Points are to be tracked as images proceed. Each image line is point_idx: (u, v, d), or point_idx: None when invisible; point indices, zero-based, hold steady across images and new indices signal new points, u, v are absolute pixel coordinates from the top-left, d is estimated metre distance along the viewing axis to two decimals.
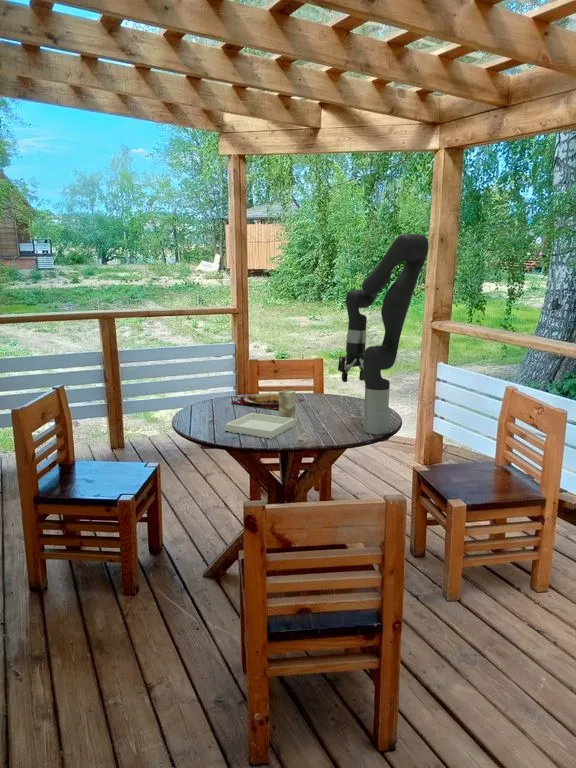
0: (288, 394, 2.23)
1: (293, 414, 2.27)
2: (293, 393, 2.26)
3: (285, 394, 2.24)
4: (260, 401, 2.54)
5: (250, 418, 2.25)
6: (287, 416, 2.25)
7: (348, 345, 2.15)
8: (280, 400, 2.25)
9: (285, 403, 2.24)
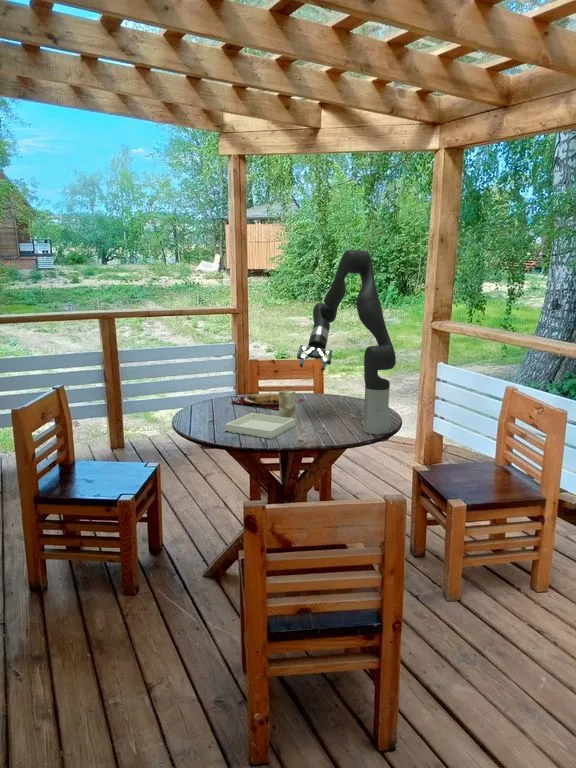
0: (288, 394, 2.23)
1: (293, 414, 2.27)
2: (293, 393, 2.26)
3: (285, 394, 2.24)
4: (260, 401, 2.54)
5: (250, 418, 2.25)
6: (287, 416, 2.25)
7: None
8: (280, 400, 2.25)
9: (285, 403, 2.24)
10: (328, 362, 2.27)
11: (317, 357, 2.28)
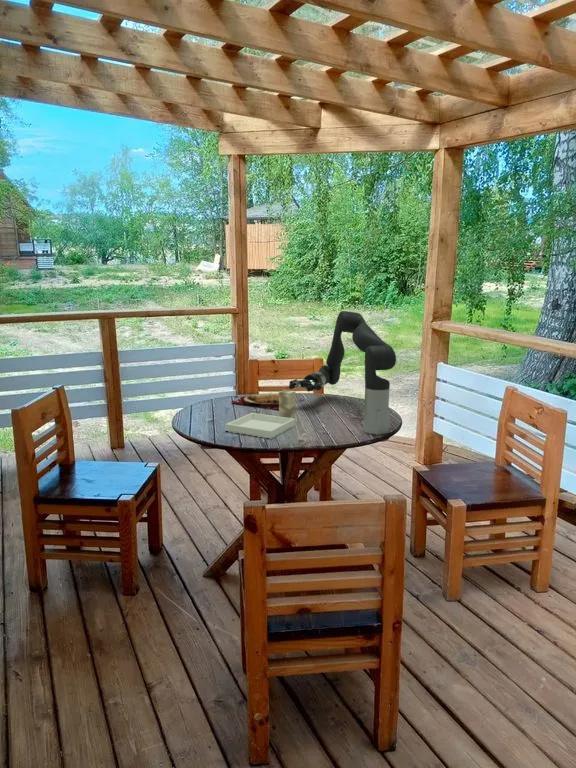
0: (288, 394, 2.23)
1: (293, 414, 2.27)
2: (293, 393, 2.26)
3: (285, 394, 2.24)
4: (260, 401, 2.54)
5: (250, 418, 2.25)
6: (287, 416, 2.25)
7: None
8: (280, 400, 2.25)
9: (285, 403, 2.24)
10: (316, 387, 2.37)
11: (307, 385, 2.41)
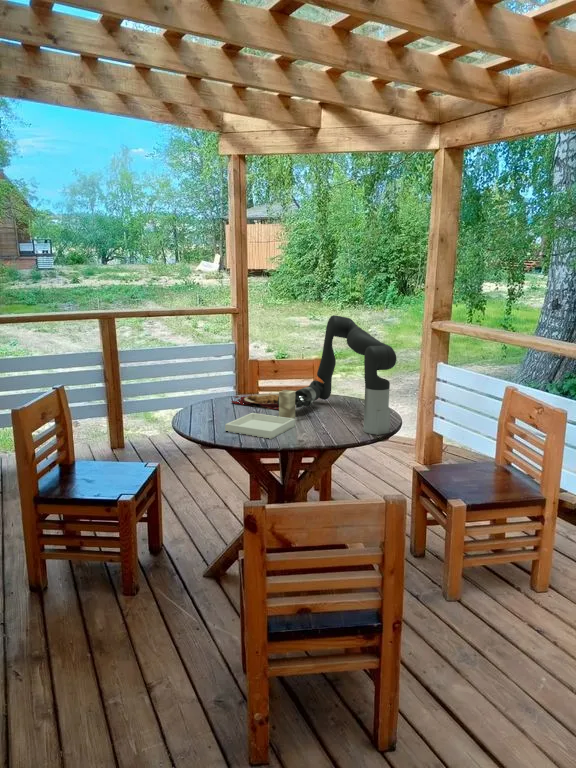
0: (288, 394, 2.23)
1: (293, 414, 2.27)
2: (293, 393, 2.26)
3: (285, 394, 2.24)
4: (260, 401, 2.53)
5: (250, 418, 2.25)
6: (287, 416, 2.25)
7: None
8: (280, 400, 2.25)
9: (285, 403, 2.24)
10: (305, 403, 2.28)
11: (297, 401, 2.32)
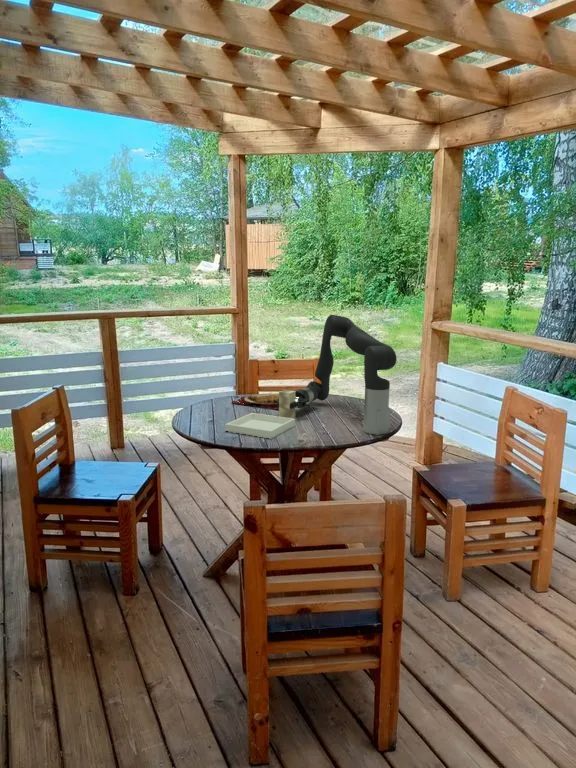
0: (288, 394, 2.23)
1: (293, 414, 2.27)
2: (293, 393, 2.26)
3: (285, 394, 2.24)
4: (260, 401, 2.53)
5: (250, 418, 2.25)
6: (287, 416, 2.25)
7: None
8: (280, 400, 2.25)
9: (285, 403, 2.24)
10: (299, 404, 2.26)
11: None
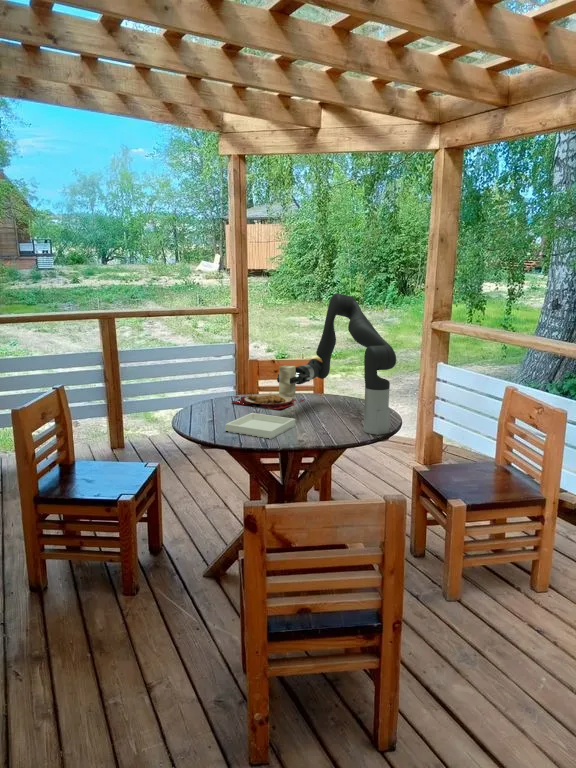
0: (288, 369, 2.21)
1: (293, 389, 2.25)
2: (293, 368, 2.23)
3: (285, 369, 2.21)
4: (261, 401, 2.53)
5: (250, 418, 2.25)
6: (287, 391, 2.23)
7: None
8: (281, 375, 2.23)
9: (285, 378, 2.22)
10: (299, 379, 2.24)
11: None
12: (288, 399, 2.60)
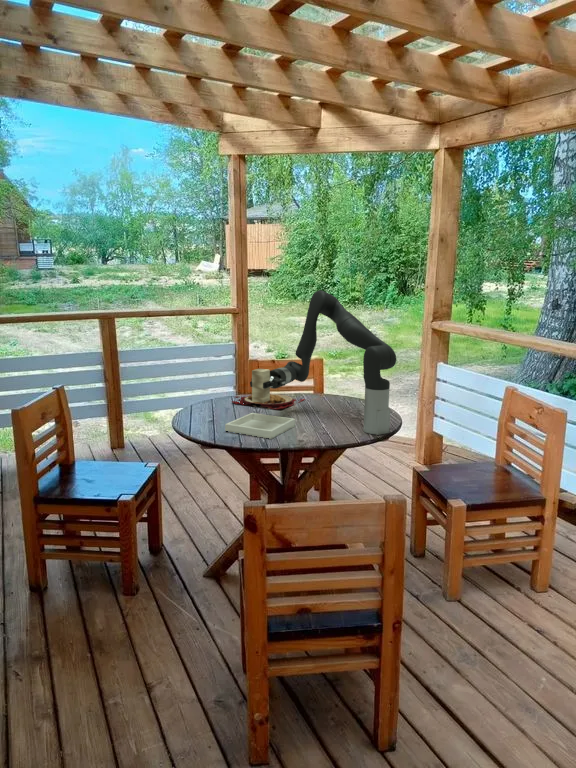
0: (261, 372, 2.08)
1: (267, 394, 2.12)
2: (267, 372, 2.10)
3: (258, 372, 2.08)
4: None
5: (250, 418, 2.25)
6: (261, 396, 2.10)
7: None
8: (254, 379, 2.10)
9: (259, 382, 2.09)
10: (273, 383, 2.11)
11: None
12: (288, 399, 2.60)
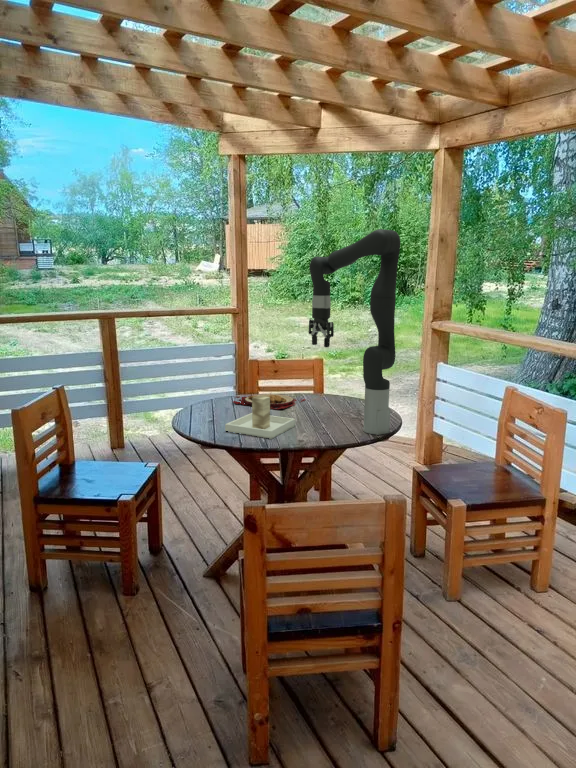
0: (262, 400, 2.09)
1: (267, 421, 2.14)
2: (267, 399, 2.12)
3: (258, 400, 2.10)
4: None
5: (250, 418, 2.25)
6: (261, 423, 2.11)
7: None
8: (254, 406, 2.11)
9: (259, 409, 2.11)
10: (329, 337, 2.23)
11: None
12: (289, 399, 2.60)
